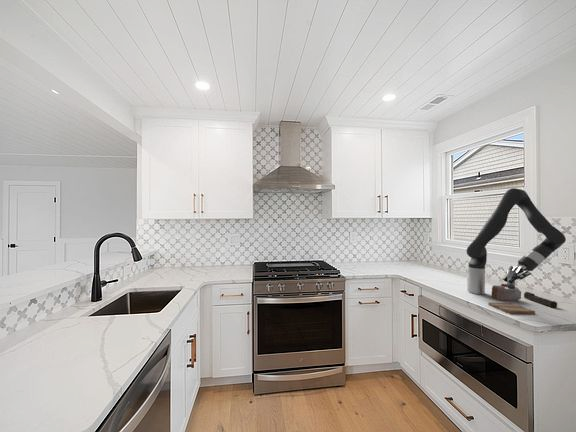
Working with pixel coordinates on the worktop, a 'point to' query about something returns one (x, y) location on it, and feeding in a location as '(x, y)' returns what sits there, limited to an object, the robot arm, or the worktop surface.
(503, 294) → the food item
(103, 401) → the worktop surface
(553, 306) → the hand tool
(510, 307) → the walnut board
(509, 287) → the round metal knob
